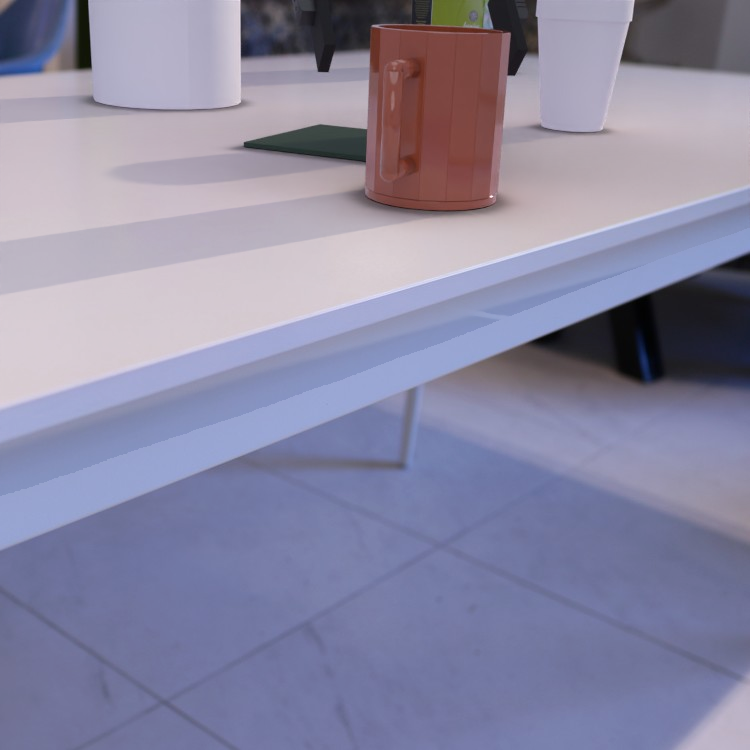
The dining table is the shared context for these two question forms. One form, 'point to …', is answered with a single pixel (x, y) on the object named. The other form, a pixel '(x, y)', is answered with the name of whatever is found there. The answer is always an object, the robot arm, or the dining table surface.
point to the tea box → (451, 13)
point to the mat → (318, 142)
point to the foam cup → (579, 60)
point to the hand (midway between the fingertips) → (424, 61)
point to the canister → (166, 53)
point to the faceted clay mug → (435, 115)
